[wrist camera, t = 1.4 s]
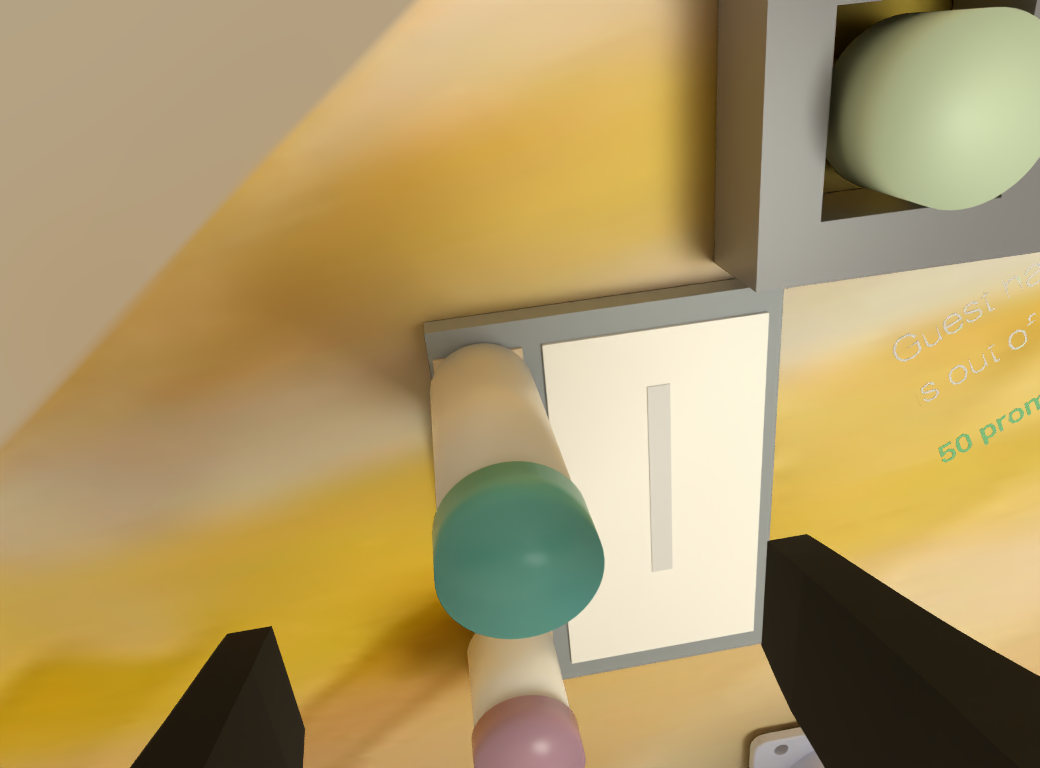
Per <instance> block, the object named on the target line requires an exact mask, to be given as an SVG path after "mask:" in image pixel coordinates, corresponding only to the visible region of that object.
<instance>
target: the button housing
mask: <svg viewBox="0 0 1040 768" xmlns="http://www.w3.org/2000/svg"><path fill="white" fill-rule="evenodd" d="M872 1H881V0H718V49H717V116H716V183H715V251H714V263H715V264H717V265H718V266H719V267H721V268H722V269H724V270H725V271H726V272H728V273H729V274H731V275H732V276H734V277H735V278H736V279H738V280H739V281H741V282H742V283H743V284H745V285H746V286H748V287H749V288H751V289H752V290H753V291H755V292H763V291H770V290H777V289H784V288H791V287H798V286H805V285H812V284H819V283H826V282H833V281H840V280H847V279H854V278H861V277H868V276H875V275H882V274H889V273H896V272H903V271H910V270H917V269H924V268H931V267H938V266H945V265H952V264H959V263H966V262H973V261H980V260H987V259H994V258H1001V257H1009V256H1016V255H1023V254H1030V253H1037V252H1040V157H1039V159H1038V160H1037V161H1036V163H1035V164H1034V165H1033V166H1032V168H1031V169H1030V170H1029V171H1028V172H1027V173H1026V174H1025V175H1024V176H1023V177H1022V178H1021V179H1020V180H1019V181H1018V182H1017V183H1016V184H1014V185H1013V186H1012V187H1010V188H1009V189H1008V190H1006V191H1005V192H1004V193H1002V194H1000V195H999V196H997V197H995V198H994V199H992V200H989V201H987V202H985V203H983V204H980V205H977V206H974V207H971V208H966V209H961V210H938V209H934V208H930V207H926V206H923V205H920V204H917V203H913V202H910V201H907V200H904V199H900V198H897V197H894V196H891V195H887V194H884V193H881V192H878V191H874V190H871V189H868V188H861V189H853V190H846V191H838V192H831V193H823V185H824V172H825V159H826V146H827V133H828V120H829V107H830V94H831V81H832V68H833V55H834V42H835V29H836V16H837V5H845V4H854V3H863V2H872ZM990 7H1009V8H1016V9H1020V10H1023V11H1026V12H1028V13H1030V14H1032V15H1034V16H1036V17H1037V18H1038V19H1040V0H954V3H953V10H961V9H976V8H990Z"/></svg>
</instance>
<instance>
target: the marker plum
mask: <svg viewBox="0 0 1040 768" xmlns="http://www.w3.org/2000/svg"><path fill="white" fill-rule="evenodd" d="M467 655H468V666H469V677H470V687H471V698H472V708H473V719H474V730H473V733H472V749H473V760H474V768H585V759H586V758H585V753H584V749H583V744H582V740H581V736H580V732H579V728H578V724H577V720H576V718H575V715H574V714H573V712H572V711H571V709H570V708H569V703H568V699H567V695H566V691H565V687H564V683H563V679H562V675H561V670H560V666H559V662H558V658H557V654H556V650H555V646H554V642H553V638H552V635H551V633H550V632H547V633H544V634H541V635H538V636H534V637H529V638H522V639H498V638H492V637H487V636H484V635H480V634H477V633H475V634H474V636H473V637H472V639H471V641H470V643H469V646H468V651H467Z"/></svg>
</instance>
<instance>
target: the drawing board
mask: <svg viewBox="0 0 1040 768" xmlns="http://www.w3.org/2000/svg"><path fill="white" fill-rule="evenodd" d="M783 294H784V289H777V290H770V291H763V292H755V291H753V290H752V289H751V288H749V287H748V286H746V285H745V284H743V283H742V282H741V281H739V280H738V279H730V280H723V281H716V282H709V283H702V284H694V285H687V286H680V287H673V288H666V289H659V290H652V291H645V292H638V293H630V294H623V295H616V296H609V297H602V298H595V299H588V300H581V301H574V302H566V303H559V304H552V305H545V306H538V307H531V308H524V309H517V310H510V311H502V312H495V313H488V314H481V315H474V316H467V317H460V318H453V319H446V320H438V321H431V322H424V337H425V343H426V349H427V355H428V361H429V367H430V373H431V379H432V378H433V376H434V373H435V371H436V370H437V368H438V367H439V365H440V364H441V363H442V361H443V360H444V359H445V358H446V357H448V356H449V355H450V354H451V353H453V352H455V351H456V350H458V349H460V348H462V347H465V346H468V345H472V344H478V343H491V344H497V345H500V346H504V347H506V348H508V349H510V350H512V351H513V352H515V353H516V354H517V355H519V356H520V357H521V358H522V359H523V360H524V361H525V363H526V364H527V366H528V367H529V369H530V371H531V374H532V376H533V379H534V382H535V384H536V387H537V390H538V392H539V395H540V398H541V400H542V403H543V406H544V408H545V411H546V414H547V416H548V419H549V422H550V425H551V427H552V430H553V433H554V435H555V438H556V441H557V443H558V446H559V449H560V451H561V454H562V457H563V459H564V462H565V465H566V468H567V470H568V473H569V476H570V478H571V481H572V482H573V483H574V484H575V485H576V487H577V488H578V489H579V491H580V492H581V494H582V496H583V498H584V500H585V502H586V505H587V507H588V510H589V513H590V515H591V518H592V520H593V523H594V526H595V528H596V531H597V533H598V536H599V539H600V541H601V544H602V547H603V551H604V558H605V566H604V573H603V578H602V581H601V584H600V586H599V588H598V590H597V592H596V594H595V596H594V597H593V599H592V600H591V602H590V603H589V604H588V605H587V606H586V608H585V609H584V610H583V611H582V612H580V613H579V614H578V615H577V616H576V617H575V618H573V619H572V620H570V621H569V622H568V623H566V624H564V625H562V626H561V627H559V628H557V629H555V630H552V631H550V633H551V635H552V638H553V642H554V646H555V650H556V654H557V658H558V662H559V666H560V670H561V675H562V679H563V680H564V679H569V678H575V677H580V676H586V675H591V674H597V673H602V672H608V671H613V670H619V669H624V668H630V667H635V666H640V665H646V664H651V663H657V662H662V661H668V660H673V659H679V658H684V657H690V656H695V655H701V654H706V653H712V652H717V651H723V650H728V649H734V648H739V647H744V646H750V645H755V644H761V643H762V626H763V608H764V591H765V573H766V556H767V541H769V537H770V520H771V503H772V485H773V468H774V450H775V433H776V416H777V398H778V381H779V364H780V346H781V329H782V312H783ZM474 634H475V632H474Z"/></svg>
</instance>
